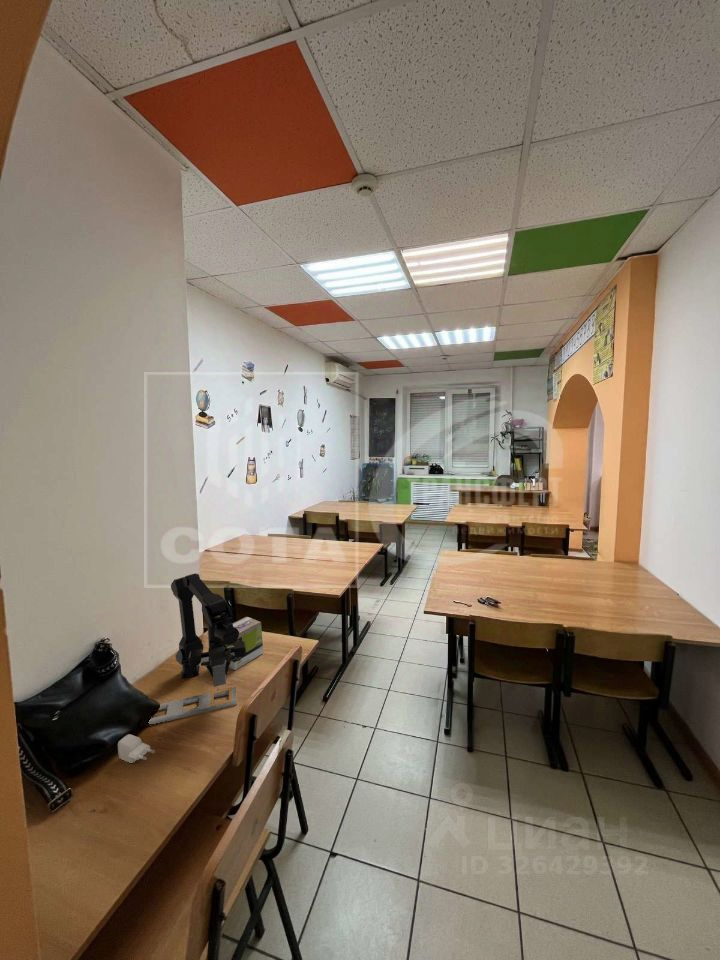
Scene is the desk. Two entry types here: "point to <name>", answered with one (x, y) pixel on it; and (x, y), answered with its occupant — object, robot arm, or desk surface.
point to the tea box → (248, 641)
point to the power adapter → (132, 748)
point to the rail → (204, 706)
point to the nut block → (219, 675)
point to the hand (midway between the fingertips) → (219, 675)
